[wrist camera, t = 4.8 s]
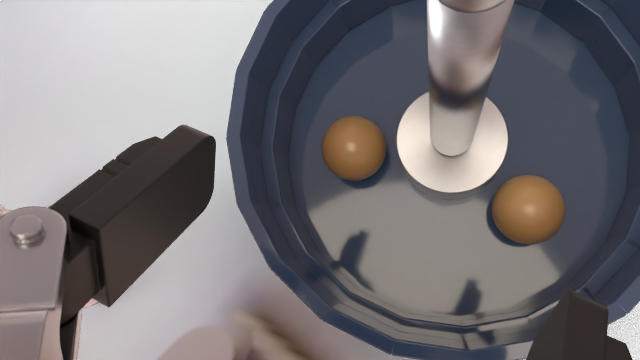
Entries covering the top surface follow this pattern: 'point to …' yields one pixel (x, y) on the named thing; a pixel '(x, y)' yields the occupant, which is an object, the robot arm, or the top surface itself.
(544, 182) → the bead
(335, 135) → the bead
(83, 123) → the top surface
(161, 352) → the top surface
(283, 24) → the bowl
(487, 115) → the silver rod with base
